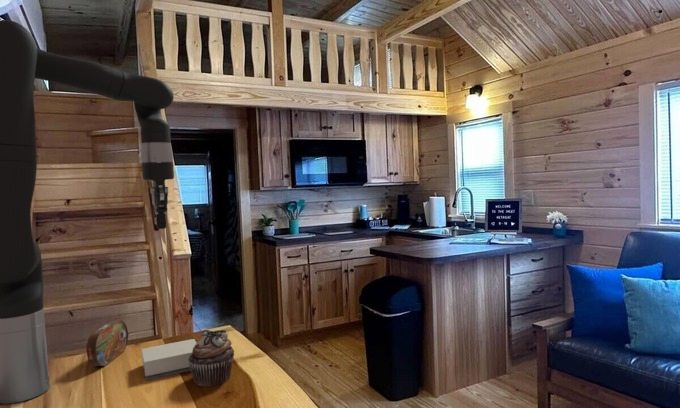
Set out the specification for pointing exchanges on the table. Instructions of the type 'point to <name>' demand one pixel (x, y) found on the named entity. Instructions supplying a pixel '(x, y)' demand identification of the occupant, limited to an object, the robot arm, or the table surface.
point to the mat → (166, 373)
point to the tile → (167, 357)
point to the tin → (107, 343)
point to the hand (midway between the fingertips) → (161, 228)
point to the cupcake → (211, 359)
